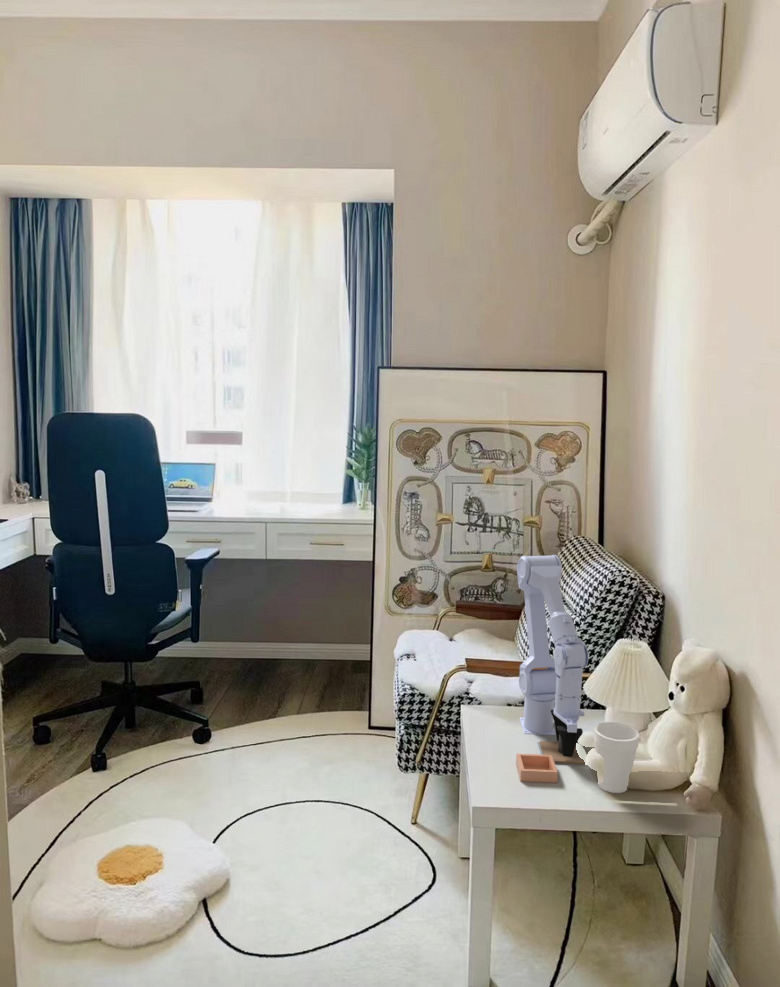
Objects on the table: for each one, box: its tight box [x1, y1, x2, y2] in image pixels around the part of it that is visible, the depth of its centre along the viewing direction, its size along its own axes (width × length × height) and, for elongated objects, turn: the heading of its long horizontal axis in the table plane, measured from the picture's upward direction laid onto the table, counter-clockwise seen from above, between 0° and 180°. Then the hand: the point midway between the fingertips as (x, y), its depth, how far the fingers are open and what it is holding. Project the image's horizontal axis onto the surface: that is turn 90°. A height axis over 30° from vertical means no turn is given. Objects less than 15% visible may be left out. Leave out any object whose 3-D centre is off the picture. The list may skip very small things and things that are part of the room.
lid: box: [538, 734, 585, 765], centre depth 193 cm, size 10×10×5 cm
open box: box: [515, 753, 559, 784], centre depth 183 cm, size 8×8×3 cm
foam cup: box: [593, 721, 640, 794], centre depth 178 cm, size 10×9×13 cm
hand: (564, 748), depth 193 cm, fingers open, 7 cm apart
